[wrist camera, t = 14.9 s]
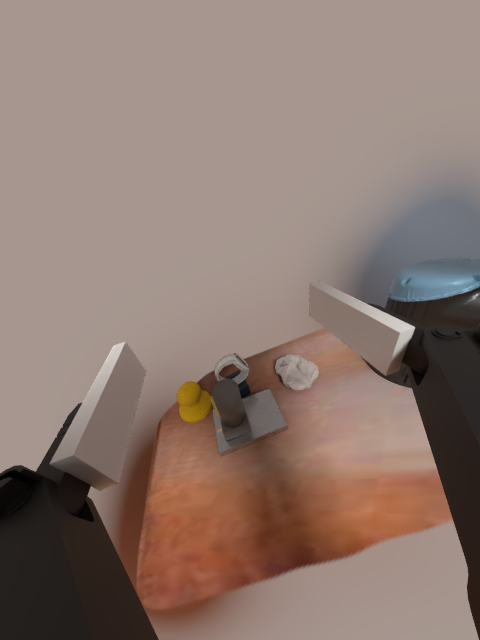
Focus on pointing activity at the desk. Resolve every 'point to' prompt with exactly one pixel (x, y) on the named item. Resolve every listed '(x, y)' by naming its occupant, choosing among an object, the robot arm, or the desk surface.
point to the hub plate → (253, 422)
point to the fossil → (296, 372)
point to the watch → (237, 375)
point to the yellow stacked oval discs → (193, 402)
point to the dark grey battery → (230, 409)
